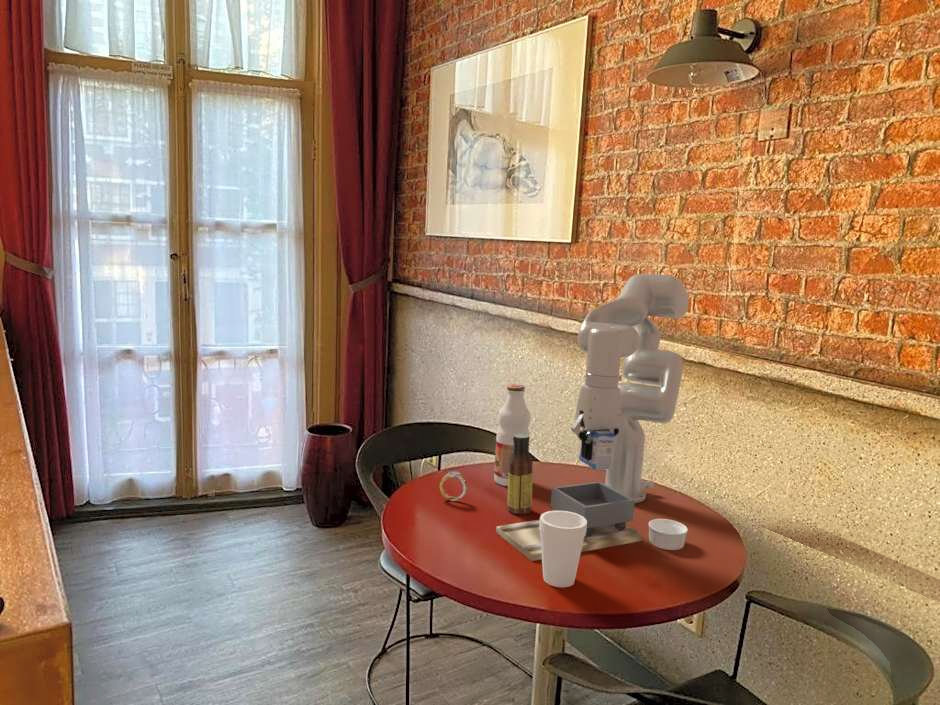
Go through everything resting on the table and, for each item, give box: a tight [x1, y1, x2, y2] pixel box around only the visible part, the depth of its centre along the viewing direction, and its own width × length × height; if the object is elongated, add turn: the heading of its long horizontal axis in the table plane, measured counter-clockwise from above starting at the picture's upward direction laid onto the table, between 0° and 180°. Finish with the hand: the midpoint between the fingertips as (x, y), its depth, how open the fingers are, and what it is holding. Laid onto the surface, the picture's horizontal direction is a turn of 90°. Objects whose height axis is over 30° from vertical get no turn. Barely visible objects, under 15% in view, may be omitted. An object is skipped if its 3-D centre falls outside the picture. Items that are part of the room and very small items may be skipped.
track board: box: [495, 519, 643, 562], centre depth 166 cm, size 30×16×2 cm, turn 117°
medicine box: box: [578, 427, 615, 471], centre depth 166 cm, size 8×4×9 cm, turn 21°
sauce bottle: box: [507, 434, 534, 515], centre depth 179 cm, size 7×6×20 cm
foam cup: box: [539, 510, 587, 588], centre depth 144 cm, size 10×9×13 cm
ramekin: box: [648, 518, 689, 551], centre depth 165 cm, size 9×9×4 cm
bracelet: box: [439, 470, 468, 502], centre depth 185 cm, size 7×3×8 cm, turn 74°
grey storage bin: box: [550, 481, 636, 536], centre depth 168 cm, size 14×14×7 cm
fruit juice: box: [493, 383, 531, 487], centre depth 200 cm, size 9×9×28 cm
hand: (595, 456), depth 166 cm, fingers closed on medicine box, 4 cm apart
